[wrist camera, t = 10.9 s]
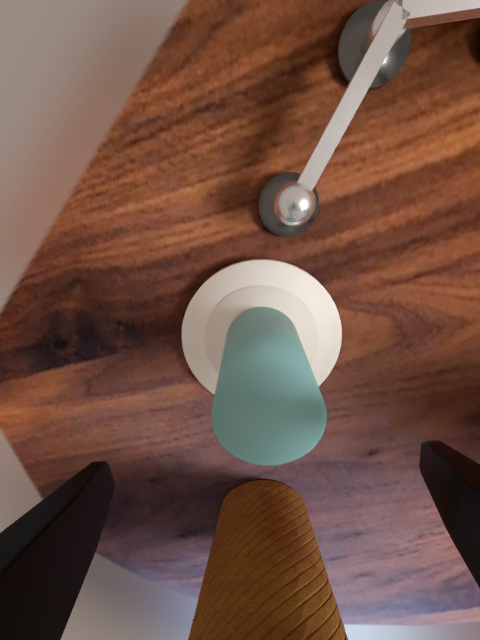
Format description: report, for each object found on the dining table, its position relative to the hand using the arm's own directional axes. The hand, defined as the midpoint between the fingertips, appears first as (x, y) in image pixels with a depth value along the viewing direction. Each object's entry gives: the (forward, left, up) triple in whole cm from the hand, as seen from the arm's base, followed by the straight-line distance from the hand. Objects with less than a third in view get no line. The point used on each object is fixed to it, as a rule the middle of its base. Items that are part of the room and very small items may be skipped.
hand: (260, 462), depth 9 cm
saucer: (0, 0, -10) cm, 10 cm away
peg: (0, 0, -9) cm, 9 cm away
